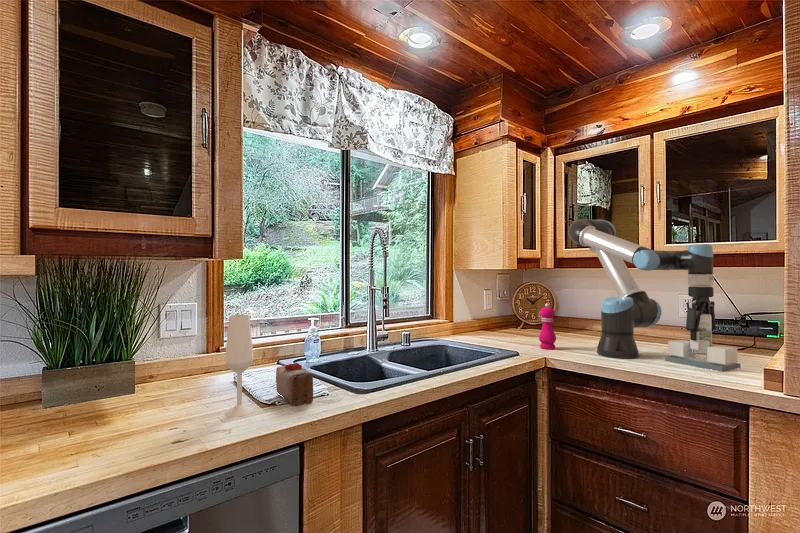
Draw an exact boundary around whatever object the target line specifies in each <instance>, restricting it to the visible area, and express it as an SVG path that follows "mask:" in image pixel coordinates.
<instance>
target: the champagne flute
mask: <svg viewBox="0 0 800 533" xmlns="http://www.w3.org/2000/svg"><path fill="white" fill-rule="evenodd" d="M250 317H251V316H250V314H234V315H229V316H228V322H227V323H228V324H227V335H226V346H225V355H224V357H225V358H224V362H225V365H226V366H227V367H228V368H229V369H230V370H231V371H232V372H233V373H236V405H234V406H233V407H231V408H230V409H228V410H227V411H226V412H225V413H224V415H225V416H226V417H230V418H237V417H243V416H244V417H245V416H248V415H251V414H252V413H253V412H254V411H255V410H254V409H253V408H251V407H250V406H247V405H245V404H243V373H244V372H245V371H247V369H249V368H250V366H252V364H253V362H254V359H255V358H254V347H253V339H252V338H253V337H252V329H251V328H252V326H251V318H250Z"/></svg>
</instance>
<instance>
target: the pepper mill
mask: <svg viewBox="0 0 800 533" xmlns="http://www.w3.org/2000/svg"><path fill="white" fill-rule="evenodd" d="M539 313H540V316H541V317H540V319H541V320H540V321H541V324H542V326H541V330H540V333H539V335H538V340H539V342H540V344H539V348H540V349H541V350H549V351H551V350H552V351H553V350H556V345H555V342H556V341H557V336H556V333H555V331H554V327H553V322H554V318H553V317H554V316H555V310H554V309H553V308H552V307H550V303H548V302H547V303H545V305H544V307H542V308H540V312H539Z"/></svg>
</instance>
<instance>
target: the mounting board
mask: <svg viewBox="0 0 800 533" xmlns="http://www.w3.org/2000/svg"><path fill="white" fill-rule="evenodd" d="M664 358H665V359H664V362H669V361H670V362H671V363H674V362H675V364H680V365H686V366H691V367H695V368H700V369H705V368H706V369H707V370H710V369H712V371H716V370H717V372H723V373H724V372H727V371H728V372H729V371H731V370H732V369H733V370H736V369H737V368H738V369H741V363H739V362H735V365H731V366H723V365H718V364H712V363H707V362H701V361H696V360H690V359H685V358H679V357H674V356H671V355H669V356H665V357H664ZM738 369H737V370H738Z"/></svg>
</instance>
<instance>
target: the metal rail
mask: <svg viewBox="0 0 800 533" xmlns="http://www.w3.org/2000/svg"><path fill="white" fill-rule="evenodd" d="M670 356H674V357H679V358H685V359H690V360H696V361H701V362H707V363H712V364H718V365H723V366H731V365H735V363H736V362H735V363H730V364H720V363H715V362H709V361H707V356H702V355H701V356H700V355H692V356H686V357H681V356H675V355H670Z"/></svg>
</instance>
